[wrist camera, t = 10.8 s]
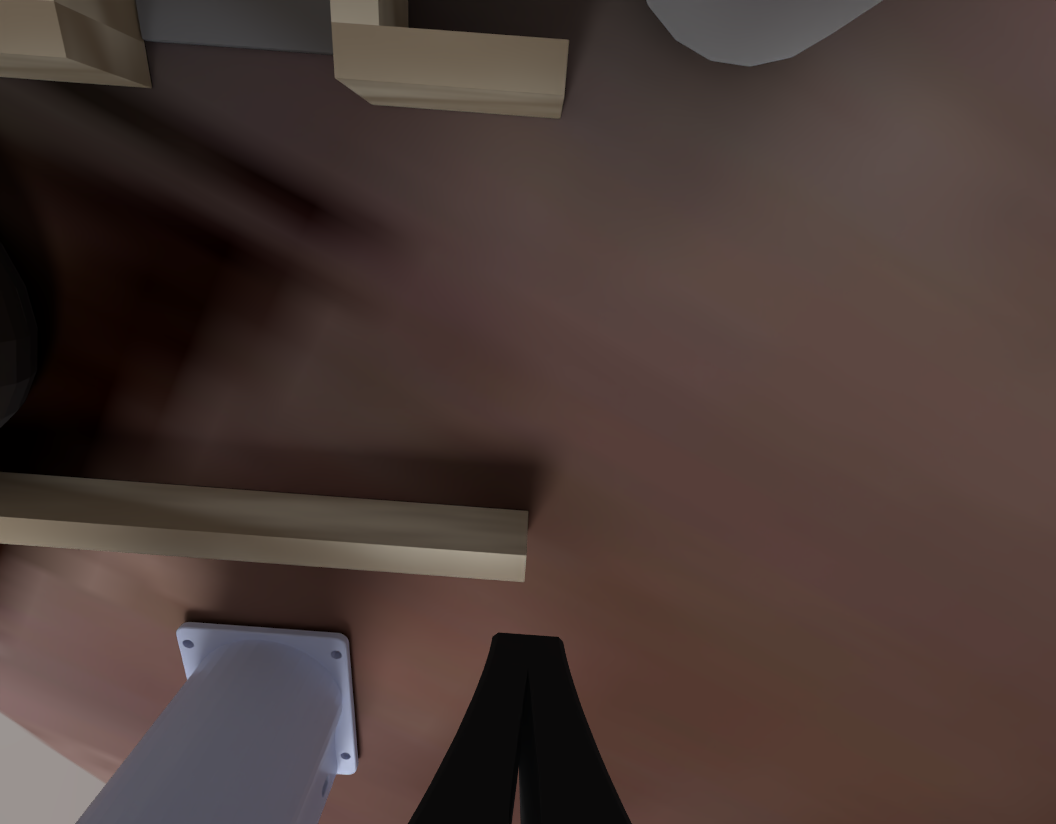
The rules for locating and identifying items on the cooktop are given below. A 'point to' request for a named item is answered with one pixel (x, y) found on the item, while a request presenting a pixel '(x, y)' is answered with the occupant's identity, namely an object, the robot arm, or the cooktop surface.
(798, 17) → the can
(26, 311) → the donut
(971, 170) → the cooktop surface
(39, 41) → the beige square zigzag bar
